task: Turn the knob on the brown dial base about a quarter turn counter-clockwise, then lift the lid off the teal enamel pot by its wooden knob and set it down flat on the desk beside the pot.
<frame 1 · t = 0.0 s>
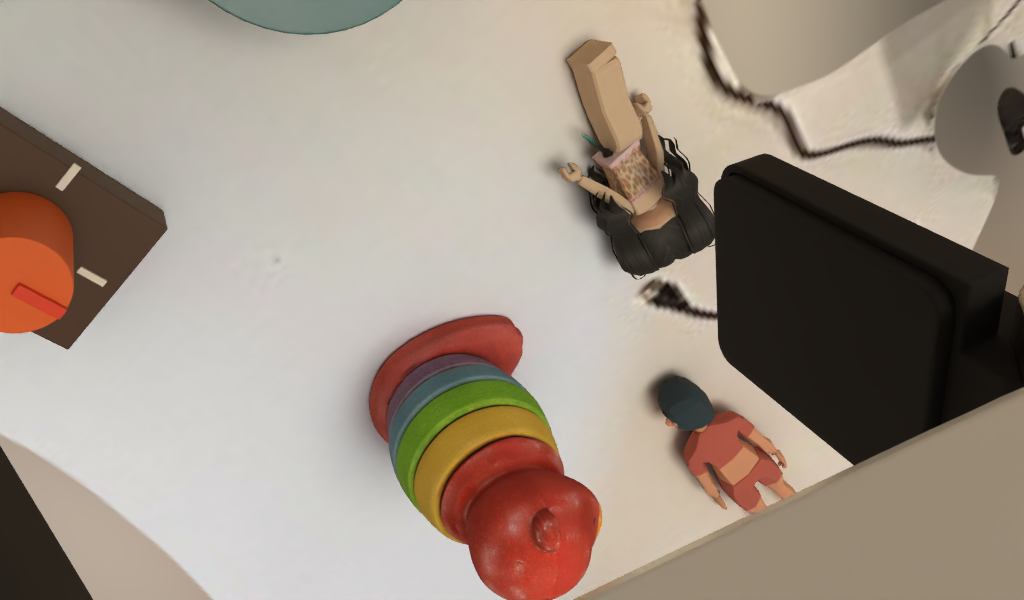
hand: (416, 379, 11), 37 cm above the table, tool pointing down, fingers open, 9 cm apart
stacking bear: (439, 388, 58), on the table
knob: (17, 261, 38), point 5 cm above the table, hinge at 0.0°
character figure: (725, 453, 73), on the table
toy figure: (609, 158, 55), on the table
brown dial base: (22, 216, 43), on the table
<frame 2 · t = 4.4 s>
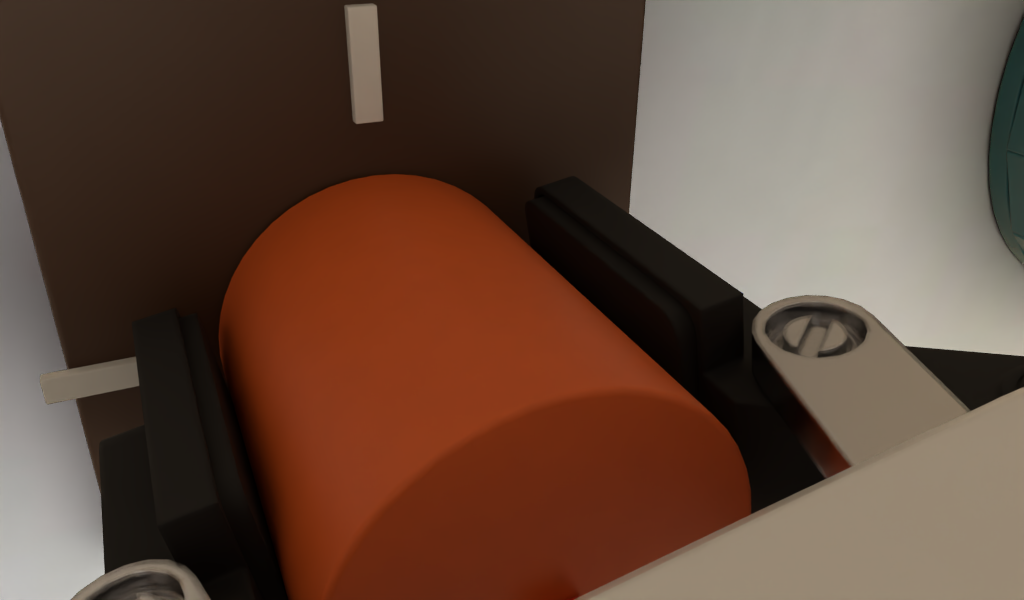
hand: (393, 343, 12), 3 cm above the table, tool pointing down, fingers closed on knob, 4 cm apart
knob: (453, 437, 10), point 5 cm above the table, hinge at -0.3°, touching gripper
brown dial base: (336, 251, 14), on the table
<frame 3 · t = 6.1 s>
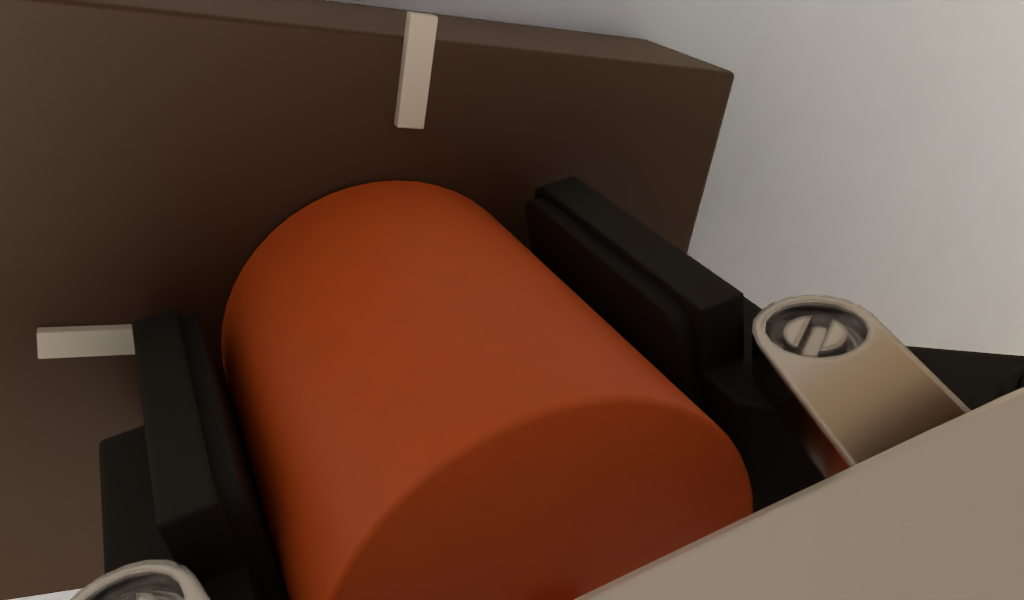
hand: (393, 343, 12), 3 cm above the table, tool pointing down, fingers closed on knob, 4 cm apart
knob: (455, 444, 10), point 5 cm above the table, hinge at 100.4°, touching gripper
brown dial base: (338, 256, 15), on the table
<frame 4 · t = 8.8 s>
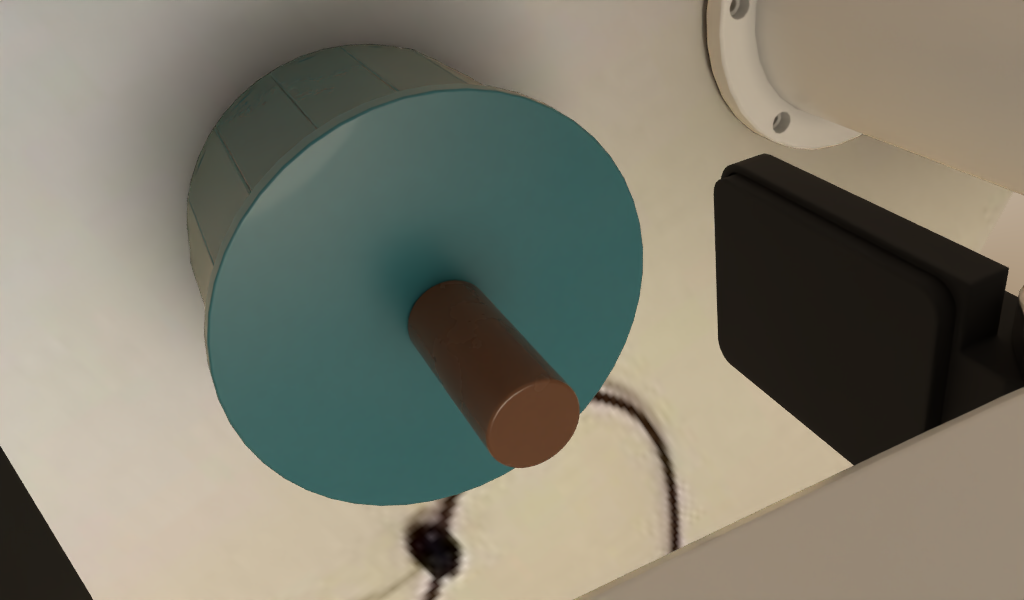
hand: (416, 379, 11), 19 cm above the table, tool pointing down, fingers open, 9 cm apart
pot: (363, 215, 31), on the table
lid: (440, 308, 25), point 7 cm above the table, touching pot
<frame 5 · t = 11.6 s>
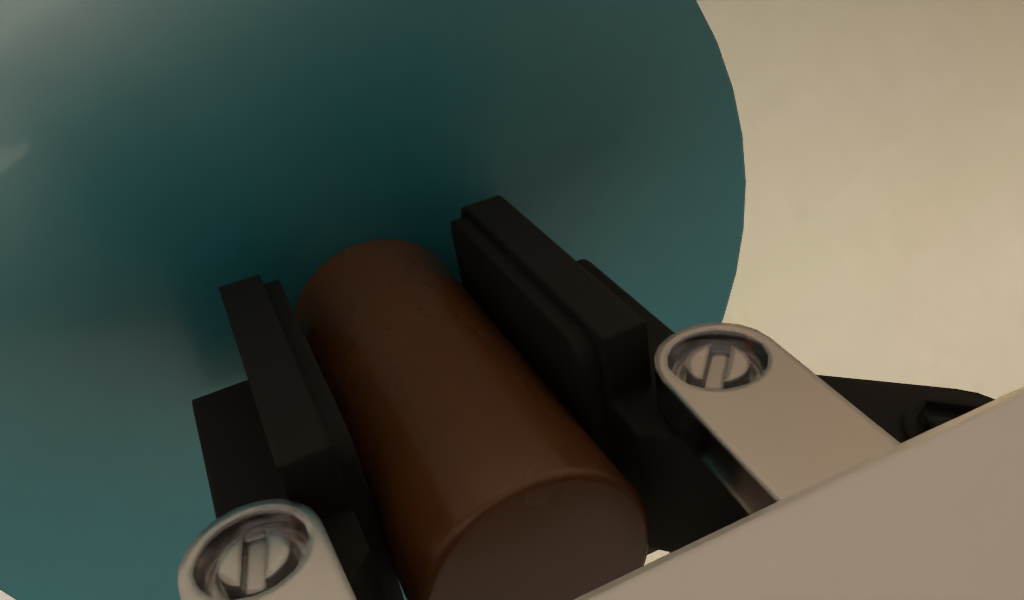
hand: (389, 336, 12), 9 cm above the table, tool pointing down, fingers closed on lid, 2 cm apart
lid: (365, 296, 13), point 8 cm above the table, touching gripper, pot
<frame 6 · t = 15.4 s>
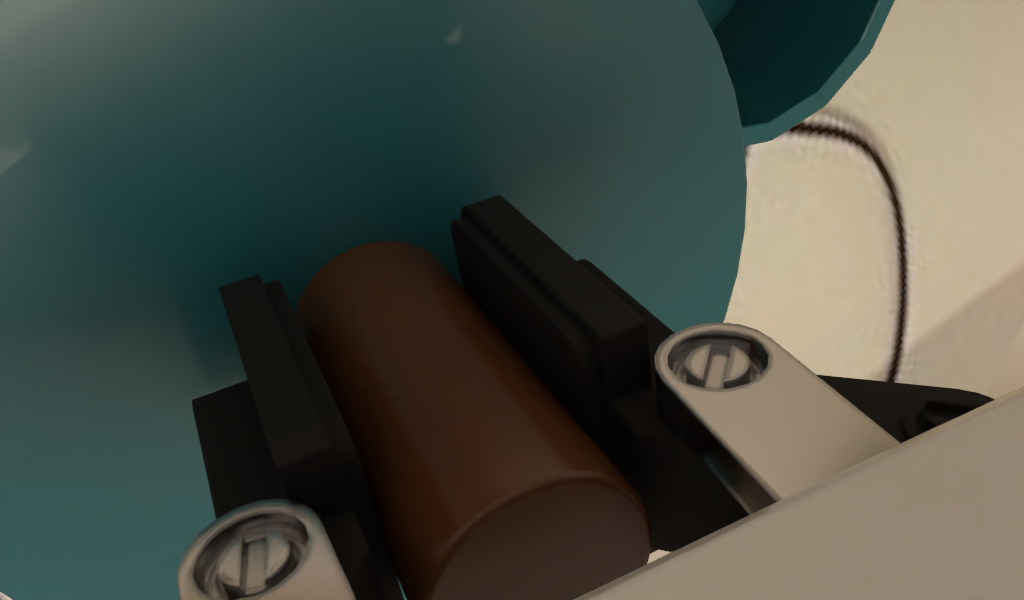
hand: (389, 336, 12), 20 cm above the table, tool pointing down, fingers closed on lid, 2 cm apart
lid: (366, 298, 13), point 19 cm above the table, touching gripper
when the fingers open (2 cm above the table, at t = 19.4 s): lid stays where it is, point 1 cm above the table.
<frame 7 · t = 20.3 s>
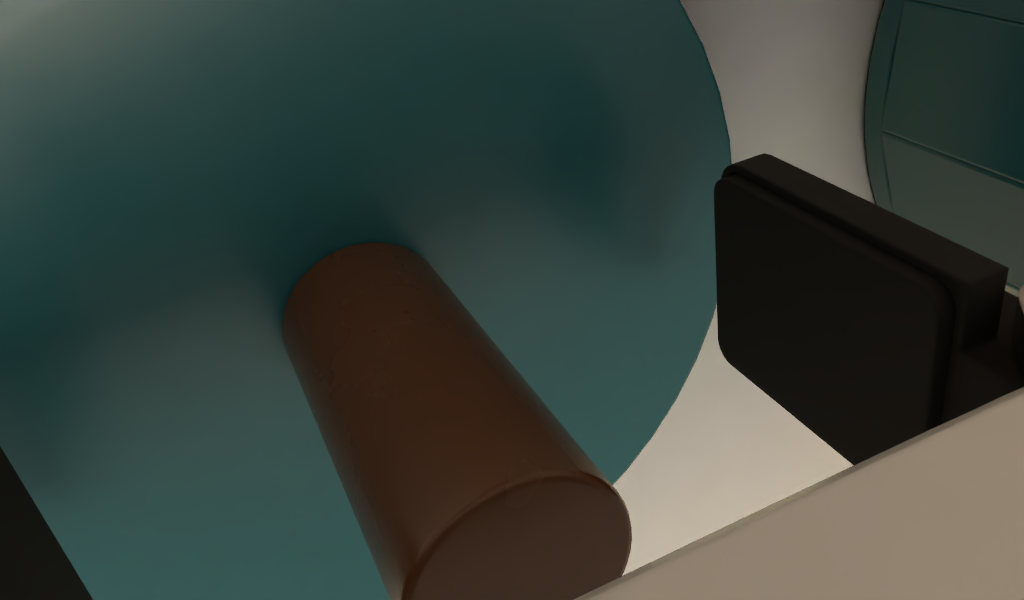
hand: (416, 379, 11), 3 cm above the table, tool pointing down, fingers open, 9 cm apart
lid: (354, 299, 13), point 1 cm above the table
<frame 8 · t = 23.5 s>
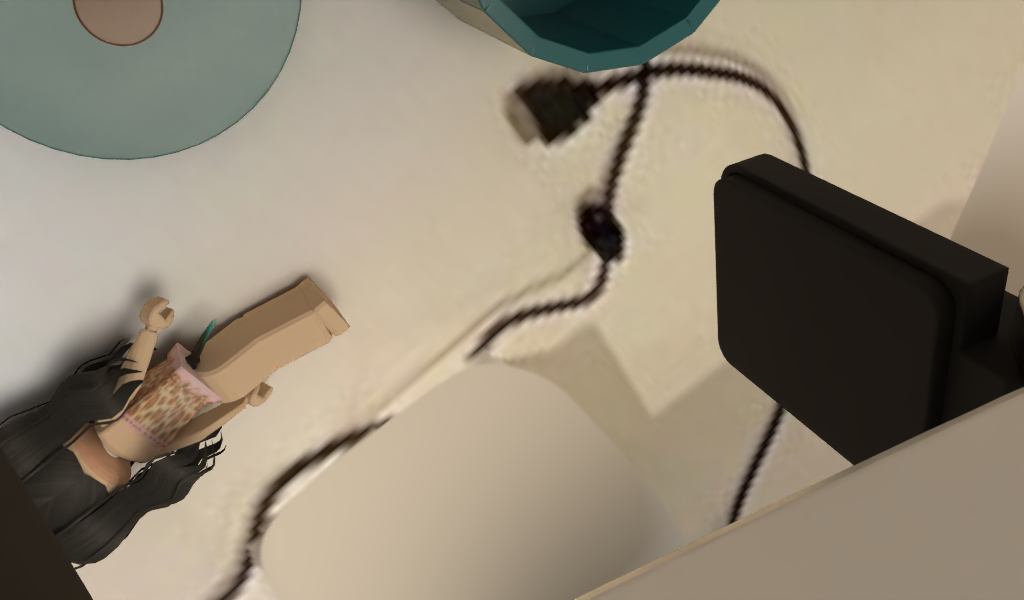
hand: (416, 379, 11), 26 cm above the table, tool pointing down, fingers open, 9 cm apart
toy figure: (162, 370, 38), on the table
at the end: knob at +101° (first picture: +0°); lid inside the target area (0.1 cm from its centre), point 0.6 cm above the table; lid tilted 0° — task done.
